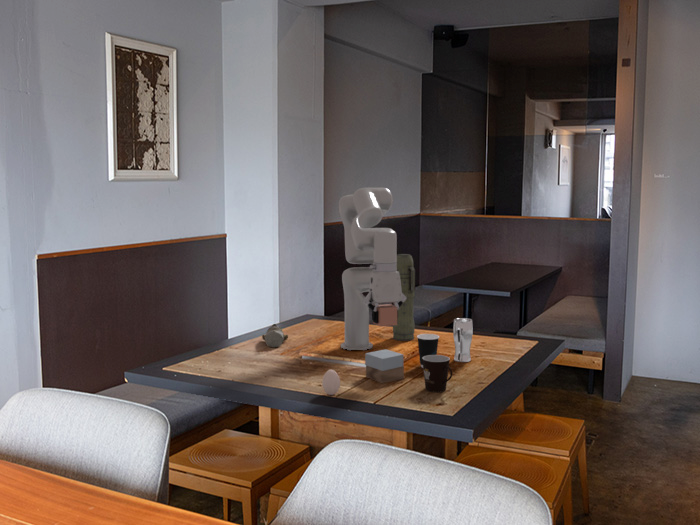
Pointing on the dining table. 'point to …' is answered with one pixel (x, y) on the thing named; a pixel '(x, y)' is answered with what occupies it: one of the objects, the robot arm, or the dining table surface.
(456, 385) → the dining table surface
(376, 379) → the walnut block
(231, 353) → the dining table surface
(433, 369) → the coffee mug
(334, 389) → the egg
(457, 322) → the beer glass
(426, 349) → the dixie cup
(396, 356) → the slate block
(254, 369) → the dining table surface
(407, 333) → the thermos
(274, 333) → the ceramic sculpture
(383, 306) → the rust cube
